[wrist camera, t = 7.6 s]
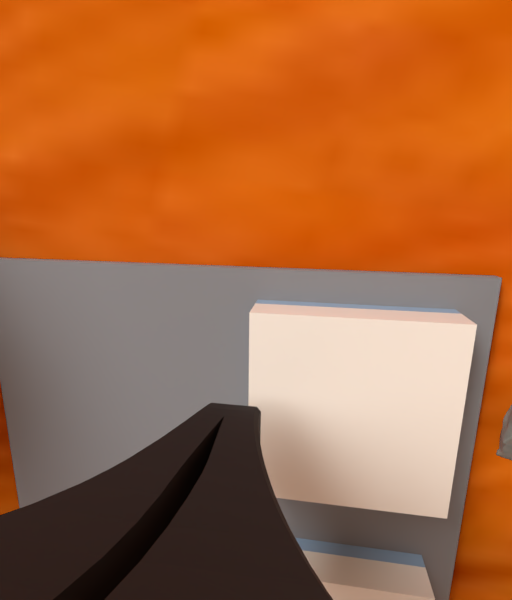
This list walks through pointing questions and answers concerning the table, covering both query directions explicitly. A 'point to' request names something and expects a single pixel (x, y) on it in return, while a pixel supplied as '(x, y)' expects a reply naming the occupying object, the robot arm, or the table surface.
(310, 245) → the table surface
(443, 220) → the table surface
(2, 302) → the mat
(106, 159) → the table surface
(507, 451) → the stone
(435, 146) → the table surface
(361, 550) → the tile
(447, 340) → the tile
